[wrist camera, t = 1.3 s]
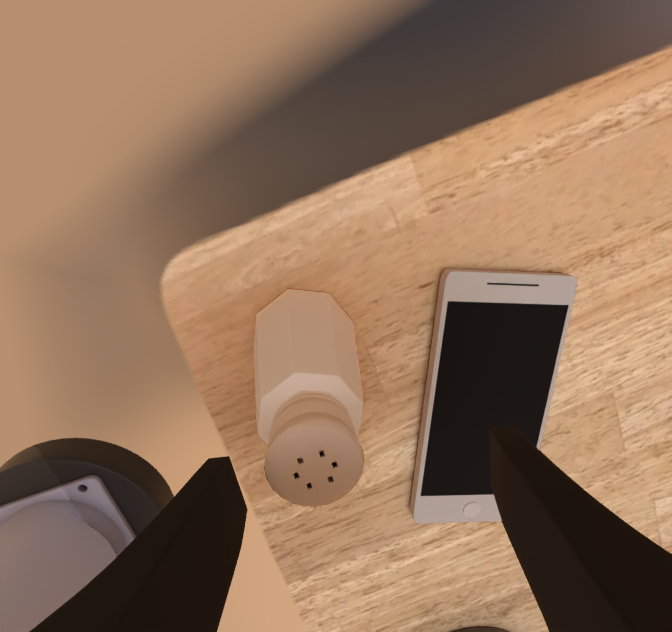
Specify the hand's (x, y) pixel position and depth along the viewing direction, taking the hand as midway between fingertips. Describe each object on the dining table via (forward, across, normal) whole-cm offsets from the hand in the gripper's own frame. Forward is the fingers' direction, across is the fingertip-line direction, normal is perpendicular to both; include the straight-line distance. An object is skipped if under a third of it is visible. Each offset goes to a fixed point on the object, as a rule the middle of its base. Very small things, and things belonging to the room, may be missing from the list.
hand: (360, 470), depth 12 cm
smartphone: (+12, -6, +7) cm, 15 cm away
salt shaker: (+11, +3, +1) cm, 11 cm away
